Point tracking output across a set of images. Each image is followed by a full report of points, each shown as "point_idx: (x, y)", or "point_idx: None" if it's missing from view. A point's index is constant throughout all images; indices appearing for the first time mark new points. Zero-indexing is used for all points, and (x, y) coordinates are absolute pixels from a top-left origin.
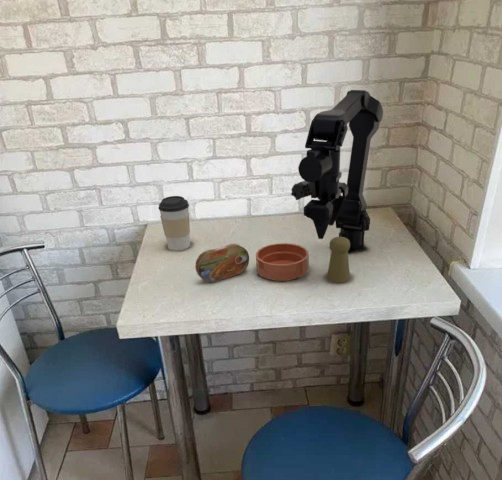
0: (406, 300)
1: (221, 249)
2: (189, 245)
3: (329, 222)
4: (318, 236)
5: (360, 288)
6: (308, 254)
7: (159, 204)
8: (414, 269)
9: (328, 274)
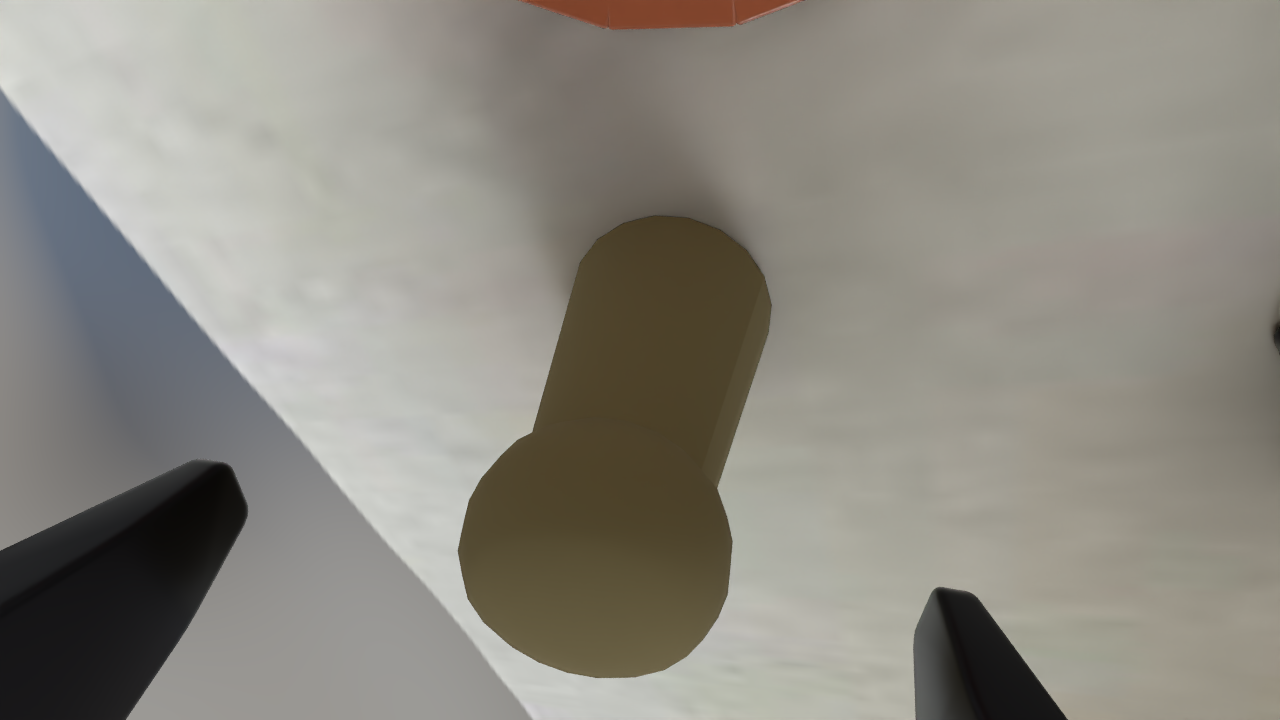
0: None
1: None
2: None
3: (946, 649)
4: (150, 490)
5: None
6: (722, 23)
7: None
8: (891, 699)
9: (604, 256)
